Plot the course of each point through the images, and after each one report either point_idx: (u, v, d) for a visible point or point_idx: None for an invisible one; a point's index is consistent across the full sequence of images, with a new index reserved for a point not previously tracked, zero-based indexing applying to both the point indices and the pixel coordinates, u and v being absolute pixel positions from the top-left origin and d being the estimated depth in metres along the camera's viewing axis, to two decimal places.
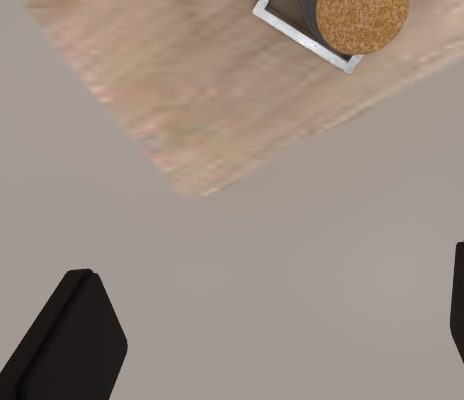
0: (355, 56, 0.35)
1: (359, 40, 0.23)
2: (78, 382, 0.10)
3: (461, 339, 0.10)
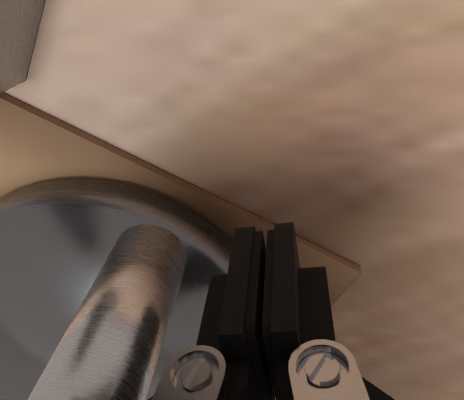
0: None
1: None
2: None
3: None
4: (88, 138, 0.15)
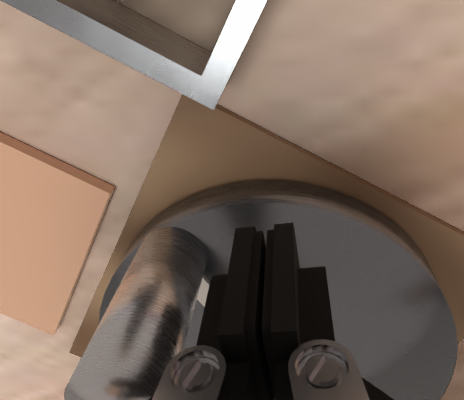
0: None
1: None
2: None
3: None
4: (280, 140, 0.15)
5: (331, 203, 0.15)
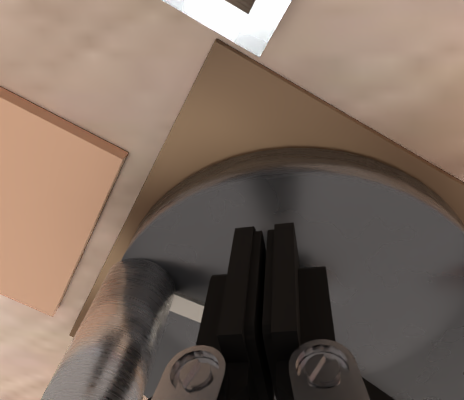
0: None
1: None
2: None
3: None
4: (322, 102, 0.14)
5: (253, 166, 0.13)
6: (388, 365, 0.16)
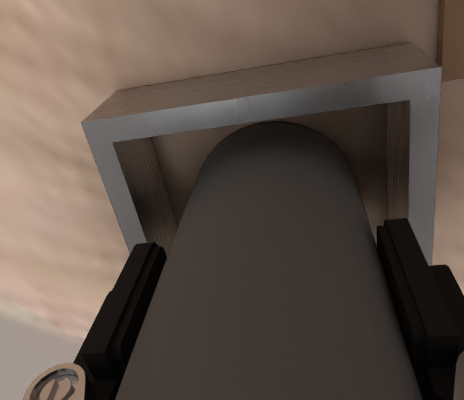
0: None
1: None
2: None
3: None
4: None
5: None
6: None
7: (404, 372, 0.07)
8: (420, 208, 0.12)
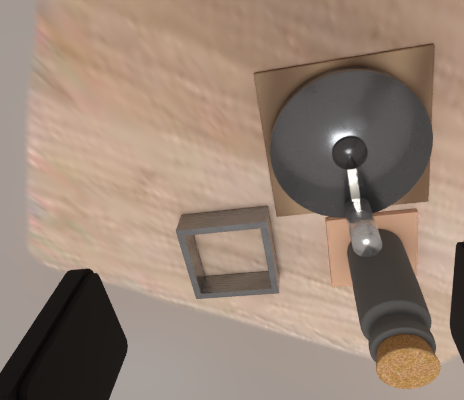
0: (207, 294, 0.49)
1: (390, 377, 0.34)
2: (78, 382, 0.10)
3: (461, 339, 0.10)
4: None
5: None
6: (333, 118, 0.37)
7: (422, 298, 0.37)
8: (268, 253, 0.45)
